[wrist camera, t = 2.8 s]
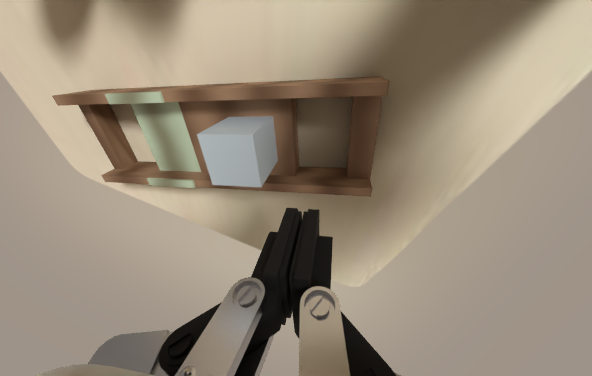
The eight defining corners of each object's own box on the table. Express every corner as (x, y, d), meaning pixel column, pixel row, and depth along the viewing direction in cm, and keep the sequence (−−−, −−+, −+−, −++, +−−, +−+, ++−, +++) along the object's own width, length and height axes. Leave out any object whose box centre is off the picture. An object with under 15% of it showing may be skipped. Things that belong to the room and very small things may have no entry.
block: (273, 116, 22) (252, 134, 17) (278, 160, 24) (261, 187, 19) (228, 116, 23) (196, 134, 18) (238, 159, 25) (212, 184, 20)
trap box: (380, 76, 20) (389, 81, 16) (366, 176, 26) (371, 198, 22) (92, 90, 27) (48, 96, 23) (132, 167, 33) (103, 182, 29)
